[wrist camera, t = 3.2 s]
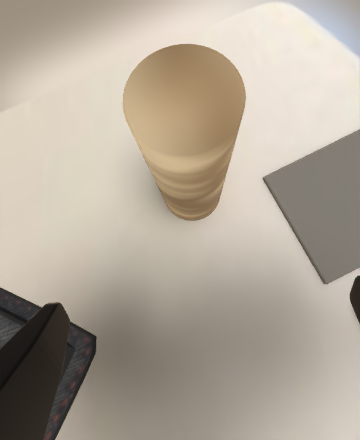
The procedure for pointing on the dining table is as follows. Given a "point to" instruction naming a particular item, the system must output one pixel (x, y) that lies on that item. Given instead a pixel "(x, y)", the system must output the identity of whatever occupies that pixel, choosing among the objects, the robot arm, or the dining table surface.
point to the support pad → (324, 205)
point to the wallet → (73, 362)
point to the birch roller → (186, 123)
